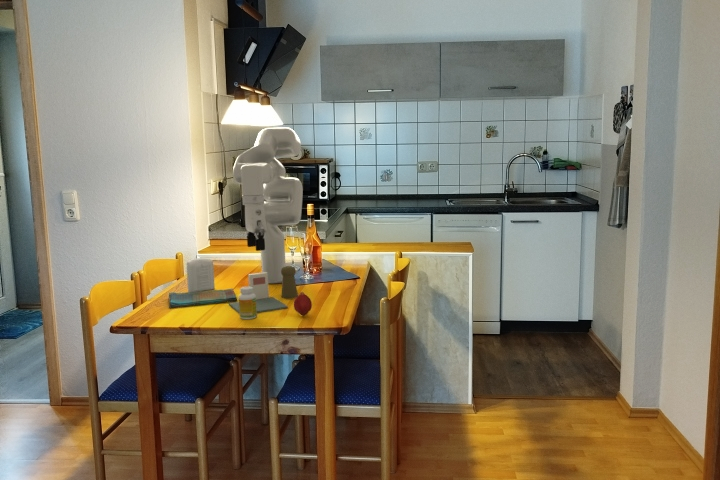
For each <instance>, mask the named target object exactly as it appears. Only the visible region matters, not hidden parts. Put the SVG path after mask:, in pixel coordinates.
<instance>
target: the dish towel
mask: <svg viewBox="0 0 720 480" xmlns="http://www.w3.org/2000/svg"><path fill="white" fill-rule="evenodd" d="M168 298H169V299H168V300H169V305H168V308H169V309H178V307H179V308H187V307H193V306H194V307H195V306H203V305H213V304H215V305H216V304H223V303H225V304H226V303H235V302H238V296H237V295H236V293H235V291H234V288H227V289H217V290H216V289H211V290H204V291H197V292H175V291H174V292H169V293H168Z"/></svg>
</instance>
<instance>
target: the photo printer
mask: <svg viewBox="0 0 720 480" xmlns="http://www.w3.org/2000/svg"><path fill="white" fill-rule="evenodd" d="M213 261H214V260H213V259H212V258H208V257H197V258H193V259H190V260H188V261H187V262H186V279H187V291H188V292H187V293H190V292H198V291H211V290H215V287H216V286H215V285H216V284H215V272H214V271H215V270H214V262H213Z"/></svg>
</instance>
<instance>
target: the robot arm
mask: <svg viewBox="0 0 720 480" xmlns="http://www.w3.org/2000/svg"><path fill="white" fill-rule="evenodd" d="M301 149H302V145H301V139H300V138H299V136H298V135H297V133H296V132H295V130H293V129H292V128H290V127H266V128H264V129H262V130H260V131H259V132H258V134H257V137H256V140H255V142H254V146H252V147H251V148H249V149H247V150H245V151H244V152H241V153H240V154H239V155H238V156H237V158H236V159H235V162H234V165H233V169H232V178H233V180H234V182H235V183H236V184H239V185H241V195H242V196H241V197H242V198H241V199H242V206H244V221H245V222H244V223H245V230H246V243H247V247H248V248H250V247H251V248H253V247H255V251H256V252H260V260H261V261H260V263H261V273H262V272H267V273H268V285H269V284H273V285H274V284H281V283H282V281H283V276H282V274H281V269H282V268H283V267H285V266H286V265H287V264H286V263H287V262H286V247H285V234H284V233H283V231H282V229H280V228H279V226H294V225H298V224H299V223H300V222H301V219H302V209H303V194H304V193H303V183H302V182H301V180H300V179H299V178H297V177H286V171H287V170H286V168H285V166H284V165H283V164H282V163H281V162H280V161H279V160H278V159H276V158H287V157H297V156H299V155H300V153H301ZM295 270H296V273H295V275H296V274H298V273H299V270H298V268H295Z"/></svg>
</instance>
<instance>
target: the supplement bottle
mask: <svg viewBox="0 0 720 480" xmlns="http://www.w3.org/2000/svg"><path fill="white" fill-rule="evenodd" d="M239 291H240V294H239V295H238V302H239V310H240V314H239V318H240V319H242V320H252V319H256V318H257V316H258V313H257V309H256V296H255V294H253V287H249V286H242V287H240V290H239Z"/></svg>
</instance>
